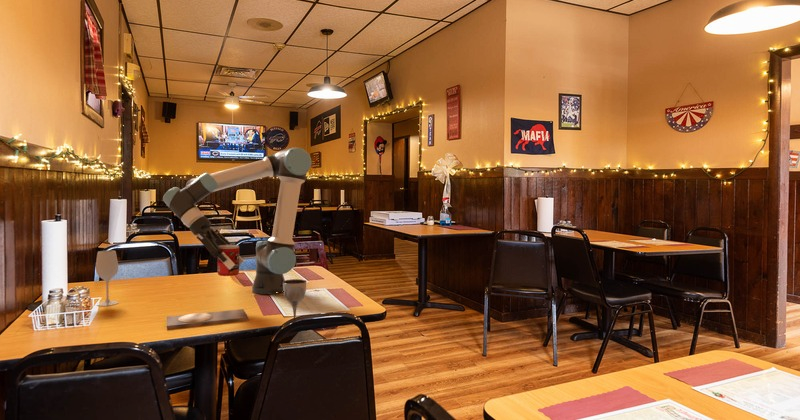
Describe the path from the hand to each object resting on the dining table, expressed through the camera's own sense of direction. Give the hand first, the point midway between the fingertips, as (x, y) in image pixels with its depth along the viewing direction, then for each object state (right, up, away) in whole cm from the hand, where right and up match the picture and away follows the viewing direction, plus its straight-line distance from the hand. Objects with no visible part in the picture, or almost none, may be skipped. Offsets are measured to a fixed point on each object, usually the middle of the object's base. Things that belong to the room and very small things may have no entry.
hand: (237, 265), depth 182 cm
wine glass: (+26, -19, -16) cm, 36 cm away
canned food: (-4, -4, 0) cm, 5 cm away
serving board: (-6, -18, -13) cm, 23 cm away
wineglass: (-54, -16, +7) cm, 57 cm away
